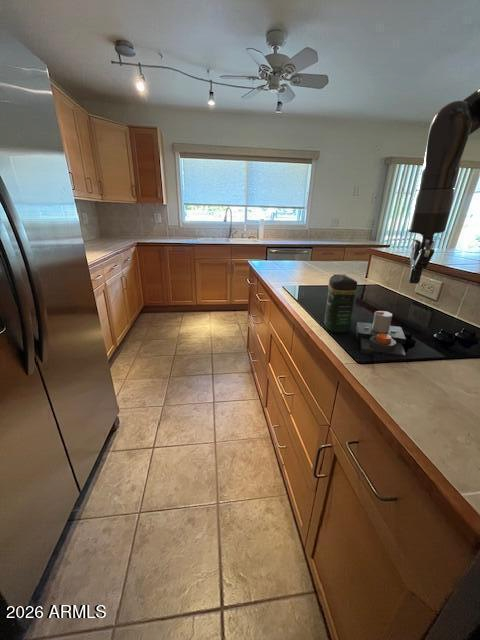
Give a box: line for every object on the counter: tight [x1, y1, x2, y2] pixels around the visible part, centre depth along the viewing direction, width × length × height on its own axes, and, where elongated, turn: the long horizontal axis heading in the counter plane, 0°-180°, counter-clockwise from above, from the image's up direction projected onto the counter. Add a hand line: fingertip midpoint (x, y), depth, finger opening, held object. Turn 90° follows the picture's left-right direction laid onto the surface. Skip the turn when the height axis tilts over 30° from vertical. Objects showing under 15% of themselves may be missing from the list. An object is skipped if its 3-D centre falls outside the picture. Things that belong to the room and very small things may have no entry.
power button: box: [376, 333, 391, 344], centre depth 75 cm, size 4×4×2 cm
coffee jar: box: [323, 273, 358, 334], centre depth 88 cm, size 10×8×19 cm
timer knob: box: [372, 310, 393, 333], centre depth 81 cm, size 5×5×6 cm
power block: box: [359, 335, 407, 357], centre depth 76 cm, size 11×7×4 cm, turn 69°
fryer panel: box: [355, 321, 407, 345], centre depth 83 cm, size 13×9×3 cm
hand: (413, 282), depth 68 cm, fingers closed
